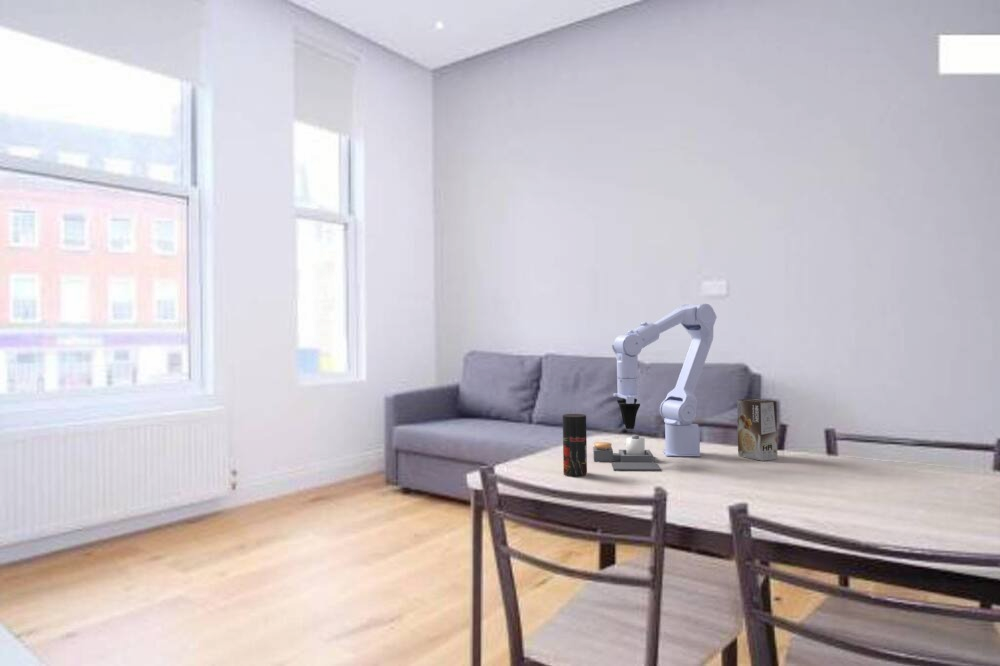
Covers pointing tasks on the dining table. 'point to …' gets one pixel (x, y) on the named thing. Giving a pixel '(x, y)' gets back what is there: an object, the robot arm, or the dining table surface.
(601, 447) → the plunger
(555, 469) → the dining table surface
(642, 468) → the mat
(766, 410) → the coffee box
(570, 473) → the deodorant
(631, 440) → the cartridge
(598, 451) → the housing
